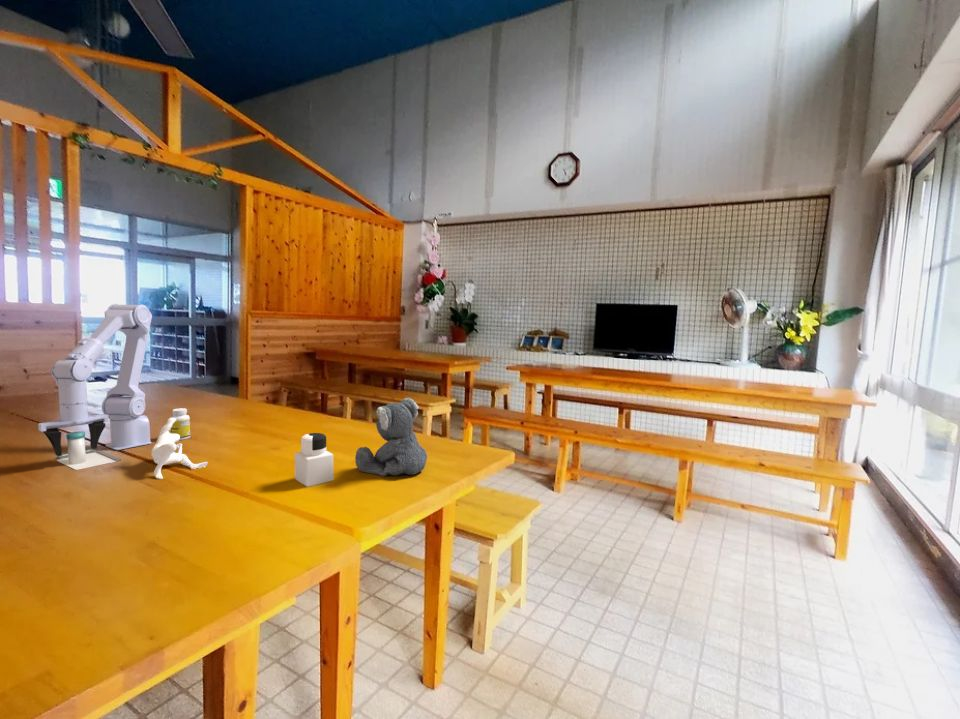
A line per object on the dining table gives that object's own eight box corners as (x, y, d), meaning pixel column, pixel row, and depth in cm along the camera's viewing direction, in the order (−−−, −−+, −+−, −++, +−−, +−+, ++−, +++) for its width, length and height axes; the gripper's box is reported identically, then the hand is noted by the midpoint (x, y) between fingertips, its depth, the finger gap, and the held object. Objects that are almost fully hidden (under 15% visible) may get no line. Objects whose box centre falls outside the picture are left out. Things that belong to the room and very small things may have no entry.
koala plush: (393, 455, 141) (393, 392, 139) (440, 466, 132) (442, 399, 130) (350, 471, 126) (350, 400, 124) (400, 485, 117) (401, 409, 115)
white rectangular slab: (99, 451, 137) (99, 450, 137) (120, 460, 130) (120, 459, 130) (56, 460, 129) (56, 458, 129) (75, 470, 122) (75, 468, 122)
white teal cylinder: (83, 459, 130) (81, 430, 129) (88, 461, 128) (86, 432, 127) (66, 462, 127) (64, 433, 126) (71, 465, 125) (69, 435, 124)
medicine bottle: (321, 473, 124) (320, 429, 123) (333, 480, 119) (333, 435, 118) (294, 479, 119) (294, 434, 118) (306, 487, 114) (306, 439, 113)
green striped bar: (92, 451, 138) (92, 448, 138) (95, 452, 137) (94, 449, 137) (57, 457, 131) (57, 455, 131) (60, 459, 130) (59, 456, 130)
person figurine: (204, 431, 123) (173, 410, 133) (150, 451, 113) (121, 428, 123) (212, 472, 128) (182, 449, 137) (161, 495, 118) (132, 469, 128)
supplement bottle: (167, 438, 152) (166, 409, 152) (184, 435, 157) (183, 407, 156) (177, 441, 150) (175, 411, 149) (193, 437, 155) (192, 408, 154)
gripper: (43, 409, 117) (47, 461, 119) (112, 401, 130) (114, 448, 131) (33, 405, 121) (37, 456, 122) (101, 398, 133) (103, 443, 135)
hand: (76, 451), depth 127 cm, fingers open, 7 cm apart
